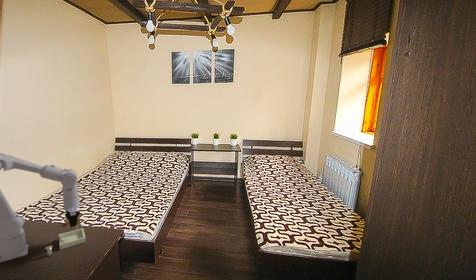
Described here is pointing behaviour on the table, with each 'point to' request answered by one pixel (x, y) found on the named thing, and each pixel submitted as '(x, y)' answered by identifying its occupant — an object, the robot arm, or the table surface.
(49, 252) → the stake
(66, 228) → the tan open box
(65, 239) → the tray
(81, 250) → the table surface
